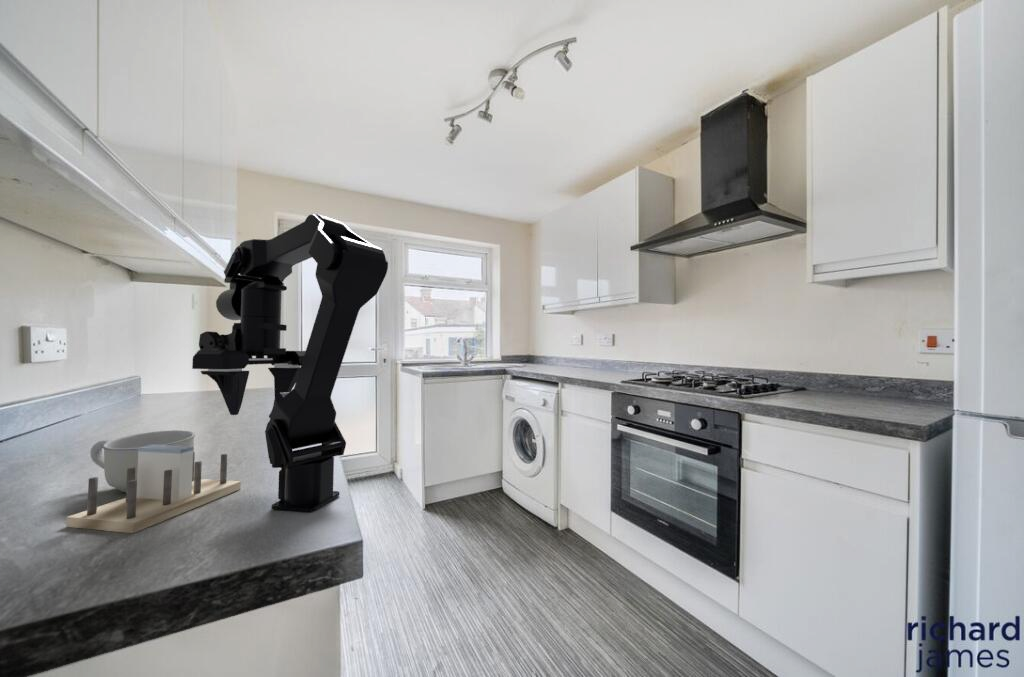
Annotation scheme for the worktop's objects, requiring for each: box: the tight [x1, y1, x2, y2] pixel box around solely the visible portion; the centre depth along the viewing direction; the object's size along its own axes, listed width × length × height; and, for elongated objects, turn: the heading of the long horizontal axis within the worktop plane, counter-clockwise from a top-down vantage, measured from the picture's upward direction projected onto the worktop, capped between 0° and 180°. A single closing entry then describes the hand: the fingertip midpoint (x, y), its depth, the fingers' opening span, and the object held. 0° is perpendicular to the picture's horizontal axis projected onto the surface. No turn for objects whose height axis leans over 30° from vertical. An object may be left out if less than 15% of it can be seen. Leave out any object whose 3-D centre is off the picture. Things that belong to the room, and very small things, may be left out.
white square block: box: [136, 445, 195, 501], centre depth 54 cm, size 7×2×7 cm, turn 81°
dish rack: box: [65, 451, 242, 534], centre depth 54 cm, size 10×15×6 cm, turn 171°
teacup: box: [89, 429, 196, 493], centre depth 62 cm, size 14×11×8 cm
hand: (258, 410), depth 64 cm, fingers open, 9 cm apart
